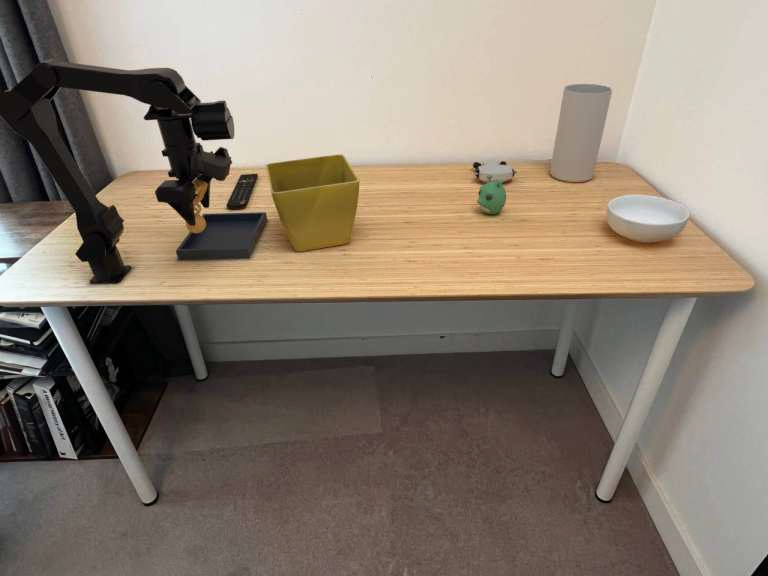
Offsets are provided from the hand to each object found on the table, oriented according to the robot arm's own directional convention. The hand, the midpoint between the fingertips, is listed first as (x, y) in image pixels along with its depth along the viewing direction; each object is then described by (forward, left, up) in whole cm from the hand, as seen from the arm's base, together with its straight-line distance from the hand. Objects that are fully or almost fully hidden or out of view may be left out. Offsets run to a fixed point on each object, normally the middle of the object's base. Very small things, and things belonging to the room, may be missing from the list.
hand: (200, 216), depth 100 cm
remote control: (+43, +4, -13) cm, 45 cm away
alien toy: (+25, -66, -13) cm, 71 cm away
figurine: (0, 0, -4) cm, 4 cm away
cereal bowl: (+11, -99, -13) cm, 100 cm away
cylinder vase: (+50, -95, -13) cm, 108 cm away
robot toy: (+50, -71, -13) cm, 88 cm away
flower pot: (+14, -22, -13) cm, 29 cm away
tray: (+14, +1, -13) cm, 19 cm away
